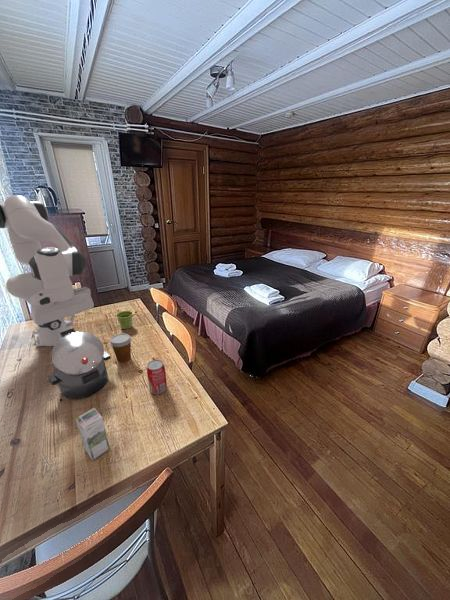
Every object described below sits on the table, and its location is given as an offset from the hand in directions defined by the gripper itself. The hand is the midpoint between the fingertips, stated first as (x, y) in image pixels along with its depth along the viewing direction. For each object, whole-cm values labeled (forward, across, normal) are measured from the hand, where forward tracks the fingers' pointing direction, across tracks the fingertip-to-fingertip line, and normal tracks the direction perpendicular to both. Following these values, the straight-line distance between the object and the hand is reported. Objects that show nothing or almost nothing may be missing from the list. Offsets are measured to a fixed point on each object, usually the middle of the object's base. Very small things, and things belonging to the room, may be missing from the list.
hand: (69, 325), depth 99 cm
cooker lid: (+11, 0, +2) cm, 11 cm away
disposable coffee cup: (+28, -20, -3) cm, 35 cm away
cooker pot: (+28, 0, +1) cm, 28 cm away
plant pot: (+28, -37, -31) cm, 56 cm away
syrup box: (+29, +10, +35) cm, 46 cm away
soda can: (+28, -19, +27) cm, 43 cm away
